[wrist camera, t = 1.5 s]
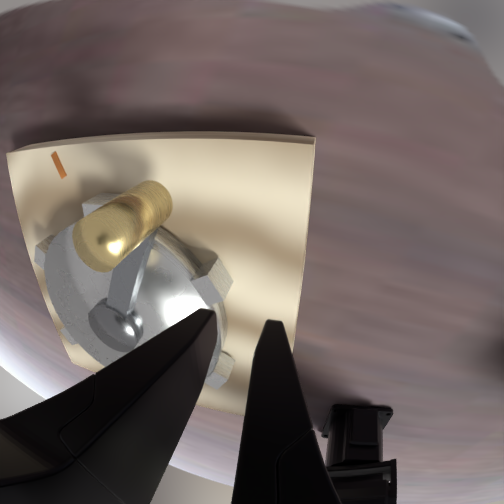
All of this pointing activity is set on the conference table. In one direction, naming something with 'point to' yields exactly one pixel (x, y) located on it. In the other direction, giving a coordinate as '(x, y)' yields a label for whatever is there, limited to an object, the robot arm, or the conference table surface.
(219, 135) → the base plate
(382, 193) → the conference table surface
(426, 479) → the conference table surface
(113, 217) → the silver lever dial
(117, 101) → the conference table surface
